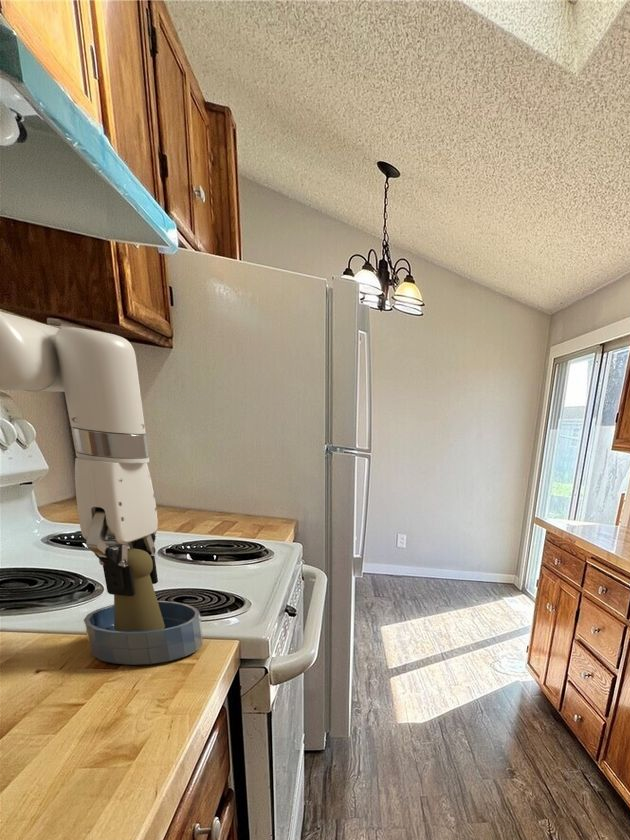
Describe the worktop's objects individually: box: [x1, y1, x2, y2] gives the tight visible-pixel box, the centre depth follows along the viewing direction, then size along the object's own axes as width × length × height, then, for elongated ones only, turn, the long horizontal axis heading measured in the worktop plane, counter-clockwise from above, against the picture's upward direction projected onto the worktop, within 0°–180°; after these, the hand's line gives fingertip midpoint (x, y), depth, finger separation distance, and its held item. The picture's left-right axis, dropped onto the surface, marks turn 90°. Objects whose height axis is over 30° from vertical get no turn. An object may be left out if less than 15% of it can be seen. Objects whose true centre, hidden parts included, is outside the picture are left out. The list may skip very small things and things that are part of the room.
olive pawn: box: [113, 547, 165, 632], centre depth 76 cm, size 6×6×11 cm
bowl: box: [83, 600, 204, 666], centre depth 79 cm, size 14×14×5 cm
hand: (133, 587), depth 76 cm, fingers closed on olive pawn, 5 cm apart
